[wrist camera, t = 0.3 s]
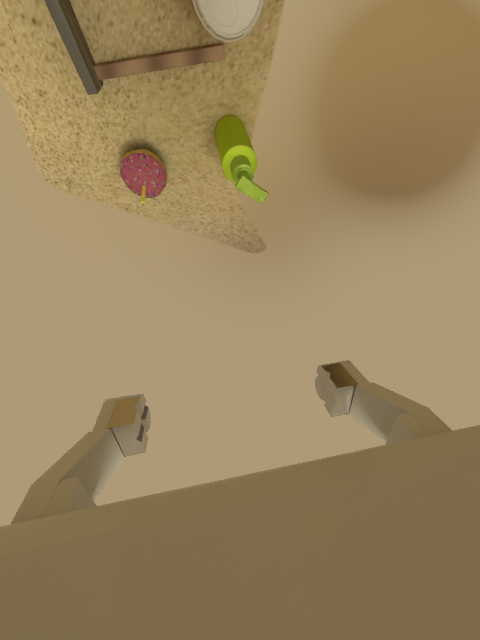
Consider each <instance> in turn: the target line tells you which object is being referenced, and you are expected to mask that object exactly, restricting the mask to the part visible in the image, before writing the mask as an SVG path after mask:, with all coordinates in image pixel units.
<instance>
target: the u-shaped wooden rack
mask: <svg viewBox="0 0 480 640" xmlns="http://www.w3.org/2000/svg"><path fill="white" fill-rule="evenodd" d="M45 2H46V5H47V7H48V9H49V11H50V13H51V15H52V18H53V20H54V22H55V24H56V26H57V28H58V31H59V33H60V35H61V37H62V39H63V42H64V44H65V46H66V48H67V50H68V52H69V55H70V57H71V59H72V61H73V63H74V65H75V68H76V70H77V72H78V74H79V76H80V78H81V81H82V83H83V85H84V87H85V89H86V91H87V94H88V95H91V94H97V93H98V92H99V91H100V89H101V87H102V85H103V82H102V80H103V79H109V78H115V77H121V76H127V75H133V74H139V73H145V72H151V71H157V70H163V69H169V68H175V67H181V66H187V65H193V64H200V63H206V62H212V61H218V60H224V59H225V55H224V45H223V43H221V44H215V45H209V46H203V47H197V48H191V49H185V50H178V51H172V52H166V53H160V54H154V55H148V56H142V57H136V58H130V59H124V60H118V61H112V62H106V63H100V64H95V63H94V60H93V58H92V55H91V53H90V50H89V48H88V45H87V43H86V41H85V38H84V36H83V33H82V31H81V28H80V26H79V24H78V21H77V19H76V16H75V14H74V11H73V9H72V6H71V4H70V2H69V0H45Z"/></svg>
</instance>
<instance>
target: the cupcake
mask: <svg viewBox="0 0 480 640" xmlns="http://www.w3.org/2000/svg"><path fill="white" fill-rule="evenodd" d="M120 168H121V169H120V175H121V177H122V179H123V181H124V182H125V184H126V185H127V187H128V188H129V189H130V190H131V191H132V192H134V193H135V194H138V195H139V196H142V197H141V203H142V207H144V204H145V198H152V197H153V198H155V197H156V196H157V195H158V196H159V194H160V193H161V192H162V191H163V189H164V187H165V185H166V182H167V175H166V168H165V166H164V165H163V163H162V162H161V160H160V158H159V157H158V156H157V155H155V154H154V153H152V152H151V151H149V150H146V149H136V150H133V151H128V152H126V153H125V154H124V156H123V157H122V160H121V166H120Z"/></svg>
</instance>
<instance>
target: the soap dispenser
mask: <svg viewBox="0 0 480 640" xmlns="http://www.w3.org/2000/svg"><path fill="white" fill-rule="evenodd" d="M215 138H216V142H217V146H218V151H219V155H220V160H221V164H222V168H223V172H224V174H225V176H226V177H227V178H228V179H229V180H230V181H232V182H234V183H236V184H235V186H236V187H237V188H238V189H240V190H241V191H242V192H244V193H245V194H247V195H248V196H249V197H251V198H253V199H254V200H256V201H258V202H260V203H262V202H263V201H264V200H265V198H266V197H267V196H268V193H267V191H265V190H264V189H262V188H261V187H259V186H258V185H256V184H255V183H254V182H253V181H252V179H253V175H254V173H255V171H256V168H257V158H256V155H255V152H254V150H253V148H252V145H251V142H250V140H249V138H248V135H247V133H246V130H245V128H244V125H243V123H242V121H241V120H240V119H239V118H238V117H236V116H233V115H227V116H224V117H223V118H221V119H220V120H219V122H218V123H217V125H216V129H215Z"/></svg>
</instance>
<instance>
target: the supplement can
mask: <svg viewBox="0 0 480 640" xmlns="http://www.w3.org/2000/svg"><path fill="white" fill-rule="evenodd" d="M191 1H192V4H193V7H194V9H195V11H196V13H197V15H198V17H199V19H200V21H201V23H202V25H203V27H204V28H205V29H206V30H207V31H208V32H209V33H210V34H211V35H212V36H213V37H214V38H216V39H218V40H221V41H223V42H226V43H227V42H235V41H239V40H240V39H242V38H243V37H245V36H246V35H247V34H249V33H250V31H251V30H252V28H253V27H254V25H255V24H256V22H257V21H258V19H259V16H260V14H261V11H262V8H263V5H264V2H265V0H191Z"/></svg>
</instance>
